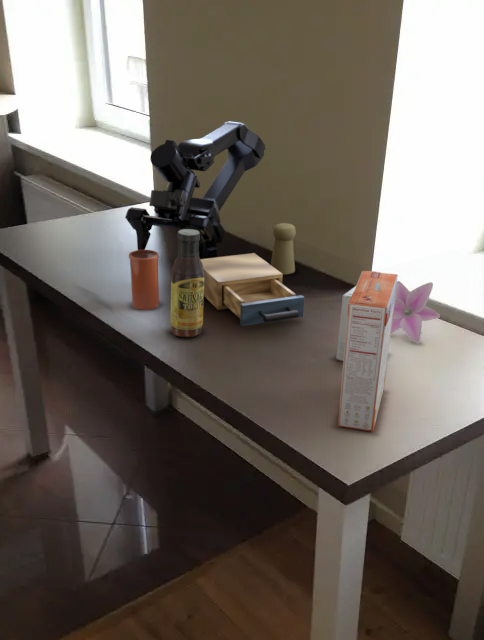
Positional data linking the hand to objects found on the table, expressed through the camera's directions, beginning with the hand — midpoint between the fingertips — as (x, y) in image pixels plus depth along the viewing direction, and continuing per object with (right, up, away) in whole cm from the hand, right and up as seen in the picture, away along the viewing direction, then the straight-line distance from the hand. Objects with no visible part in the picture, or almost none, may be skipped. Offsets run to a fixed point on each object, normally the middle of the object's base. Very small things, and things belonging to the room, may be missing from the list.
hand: (158, 259), depth 157 cm
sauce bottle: (+7, -17, -13) cm, 23 cm away
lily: (+49, -17, -11) cm, 53 cm away
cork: (+27, +1, +19) cm, 33 cm away
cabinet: (+17, -7, +5) cm, 18 cm away
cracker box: (+36, -32, -38) cm, 61 cm away
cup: (-3, -10, -2) cm, 10 cm away
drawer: (+22, -12, -6) cm, 26 cm away
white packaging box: (+40, -22, -21) cm, 50 cm away
